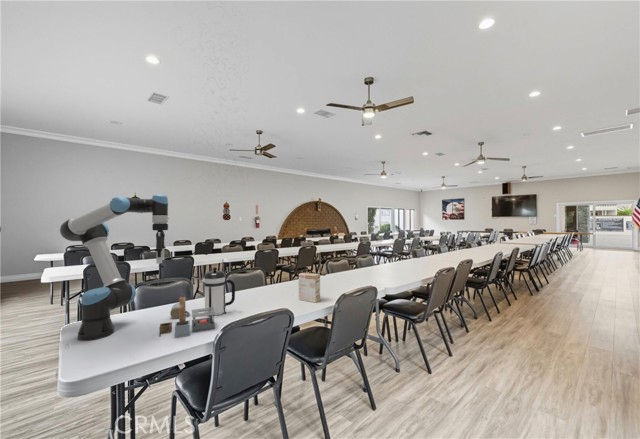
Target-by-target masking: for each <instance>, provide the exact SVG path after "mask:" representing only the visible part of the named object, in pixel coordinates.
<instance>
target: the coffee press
mask: <svg viewBox="0 0 640 439" xmlns="http://www.w3.org/2000/svg"><path fill="white" fill-rule="evenodd" d="M212 269H213V270H211V271H208V272H206V273H205V274H204V276H203V278H202V280H201V283H203V284H204V285H203V286H204V308H211V307H213V308H214V312H215V315H214V316H215V317H216V316H219V315H222V314H225V315H226V314H227V312H226V306H230V305H232V304H233V303H234V302H235V298H236V287H235V286H236V285H235V282H234V281H233V280H231V279H227V280H226V276H227V275H226V273H225V272H224V271H221V270H217V267H216V266H215V267H213V268H212ZM226 283H227V284H230V285H231V299H230V301H227V302H226ZM205 312H208V311H205ZM209 317H211V315H209V316H208V318H209Z"/></svg>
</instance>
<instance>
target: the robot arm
mask: <svg viewBox="0 0 640 439" xmlns="http://www.w3.org/2000/svg"><path fill="white" fill-rule="evenodd" d="M168 199H169V198H168V196H167V195H165V194H153V195H152V196H151V198H134V197H125V196H115V197H112V198H111V200H110V201H109V203H107V204H105V205H103V206H100V207H99V208H96V209H94V210H92V211H90V212H88V213H85V214H84V215H81V216H79V217H72V218H69V219H67V220H66V221H64V222H62V224H61V225H60V228H59V233H60V235H61V237H62V238H64V239H65V240H67V241H70V242H81V243H82V246H83V247H85V248H88V252H89V253H90V255H91V258H92V260H93V262H94V264H95V267H96V269H97V271H98V274H99V277H100V279H101V281H102V283H103V286H102V287H98V288H94V289H93V288H92V289H89V290H87V291H85V292H84V293H83V294H82V296H81V324H80V326H79V329H78V332H77V340H78V341H86V342H87V341H93V340H100V339H102V338H106V337H109V336H110V335H113V333H115V325H114V324H113V321H112V319H111V311H112V310H116V309H119V308H121V307H125V306H127V305H129V304H131V303H132V302H133V301H134V300H135V297H136V294H137V293H136V292H137V291H136V287H135V286H134V285H133V284H131V283H128V282H127V280H126V279H125V278H122V275H121V274H120V272H119V269H118V267H117V266H116V262H115V259H114V258H113V256H112V253H111V251H110V249H109V246H108V244H107V241H108V237H109V235H110V234H109V232H110V229H109V227H108V225H107V224H106V223H105V222H108V221H111V220H112V219H115V218H117V217H119V216H121V215H124V214H126V213H137V214H145V213H151V214H152V217H151V220H152V221H151V222H152V223H153V224H152V226H151V227H152V229H151V230H152V231H156V233H155V237H156V238H155V239H156V242H155V244H156V245H155V249H154V252H156V254H155V255H156V258H155V259H156V263H155V264H156V265H158V264H163V261H165V249H166V246H165V236H166V234H165V231H168V230H169V224H168V222H169V219H170V217H169V214H168V211H169V200H168Z"/></svg>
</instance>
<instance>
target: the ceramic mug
mask: <svg viewBox="0 0 640 439" xmlns="http://www.w3.org/2000/svg"><path fill="white" fill-rule="evenodd" d="M169 313H170V316H171V317H172V319H175V320H177V319H179V302H178V303H174V304H173V305H172V307H171V310H170V312H169ZM189 316H190V311H187V310H186V318H187V317H189Z"/></svg>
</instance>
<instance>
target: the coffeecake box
mask: <svg viewBox="0 0 640 439" xmlns="http://www.w3.org/2000/svg"><path fill="white" fill-rule="evenodd" d="M298 300H299V301H304V302H309V303H314V304H315V303H317V302H320V301H321V274H320V273H312V272H301V273H298Z"/></svg>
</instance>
